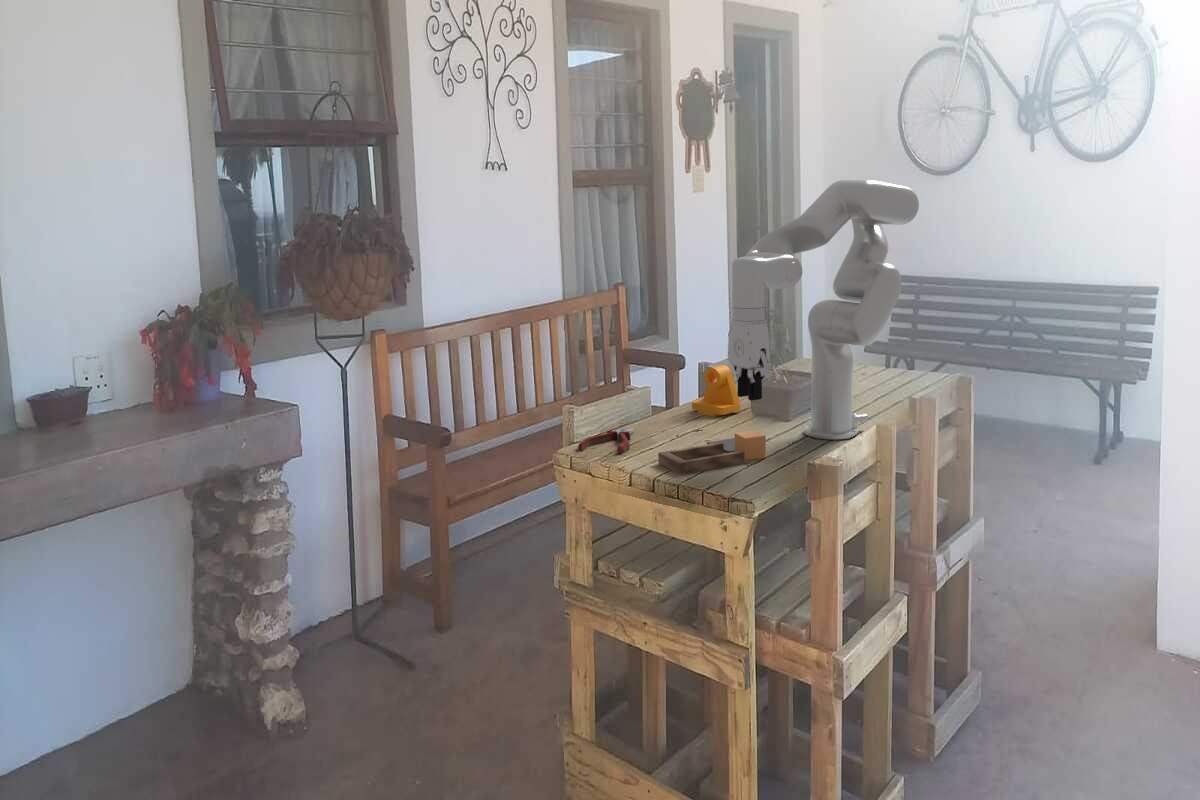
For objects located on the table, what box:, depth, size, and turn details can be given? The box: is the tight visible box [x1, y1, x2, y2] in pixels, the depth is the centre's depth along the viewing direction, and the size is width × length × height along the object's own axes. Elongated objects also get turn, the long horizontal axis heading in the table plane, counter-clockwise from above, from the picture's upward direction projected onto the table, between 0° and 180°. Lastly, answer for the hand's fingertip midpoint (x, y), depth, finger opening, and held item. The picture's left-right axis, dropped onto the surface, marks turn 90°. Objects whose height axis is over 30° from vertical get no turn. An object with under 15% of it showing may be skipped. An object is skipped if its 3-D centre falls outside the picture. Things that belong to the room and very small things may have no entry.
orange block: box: [734, 430, 767, 461], centre depth 230 cm, size 5×5×5 cm
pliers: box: [577, 427, 637, 455], centre depth 245 cm, size 12×20×3 cm, turn 158°
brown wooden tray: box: [657, 442, 745, 475], centre depth 225 cm, size 16×9×2 cm, turn 116°
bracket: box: [691, 364, 741, 417], centre depth 269 cm, size 11×7×12 cm, turn 43°
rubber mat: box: [706, 437, 735, 454], centre depth 237 cm, size 8×9×1 cm
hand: (749, 397), depth 228 cm, fingers open, 3 cm apart
